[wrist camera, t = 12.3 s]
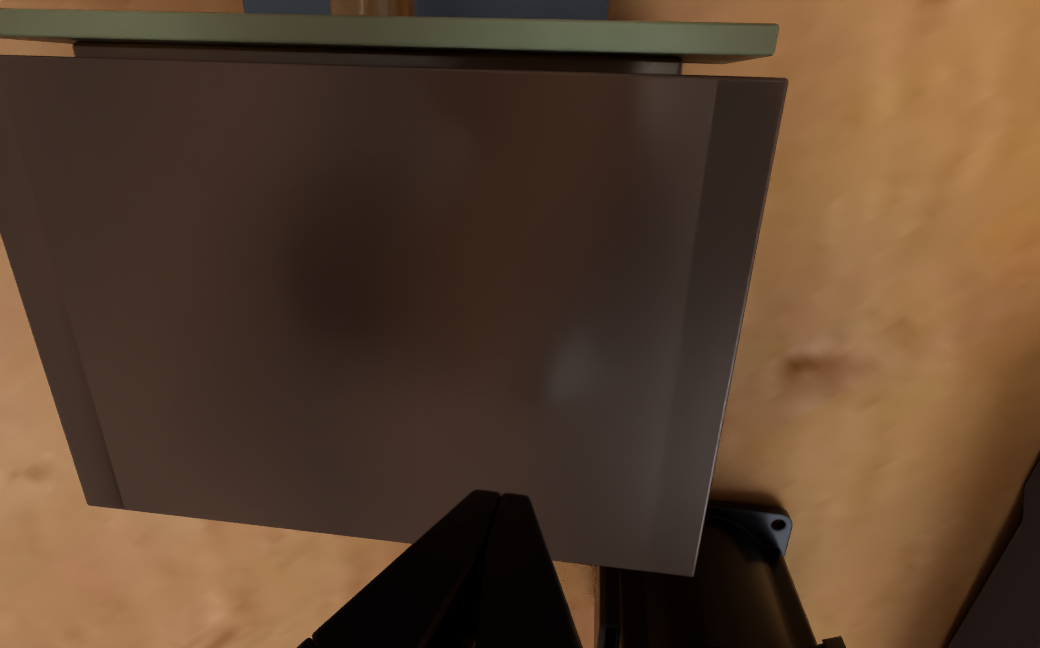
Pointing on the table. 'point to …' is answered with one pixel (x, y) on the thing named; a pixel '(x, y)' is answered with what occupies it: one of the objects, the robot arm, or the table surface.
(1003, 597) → the calculator
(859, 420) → the table surface
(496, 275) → the drawer unit
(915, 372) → the table surface
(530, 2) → the storage box
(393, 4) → the drawer
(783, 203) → the table surface
